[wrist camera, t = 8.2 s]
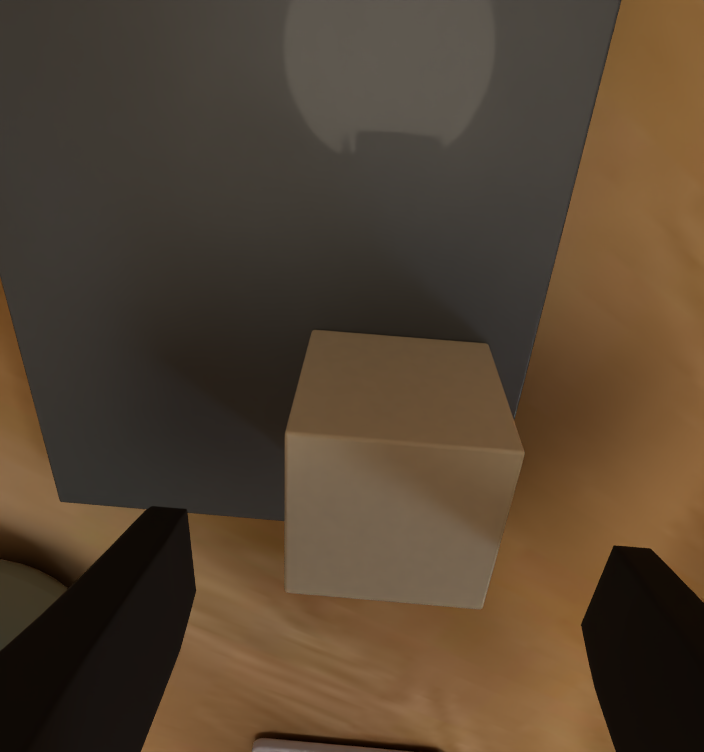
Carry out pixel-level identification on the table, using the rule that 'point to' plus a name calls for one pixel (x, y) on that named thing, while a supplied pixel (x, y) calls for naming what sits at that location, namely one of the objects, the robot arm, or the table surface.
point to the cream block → (397, 470)
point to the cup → (23, 597)
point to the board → (270, 212)
